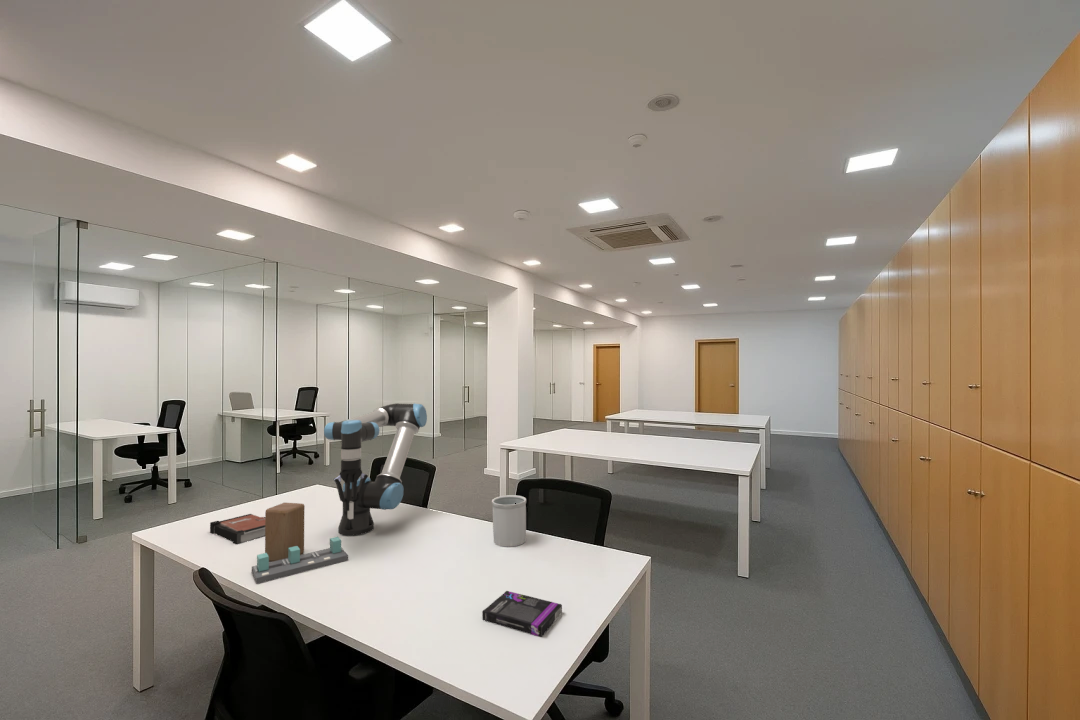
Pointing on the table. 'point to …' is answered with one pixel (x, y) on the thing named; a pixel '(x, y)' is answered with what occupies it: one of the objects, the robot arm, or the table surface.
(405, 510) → the table surface
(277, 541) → the wooden block
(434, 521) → the table surface
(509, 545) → the utensil holder
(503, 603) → the box
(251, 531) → the book
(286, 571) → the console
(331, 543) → the slider
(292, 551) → the slider
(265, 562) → the slider
